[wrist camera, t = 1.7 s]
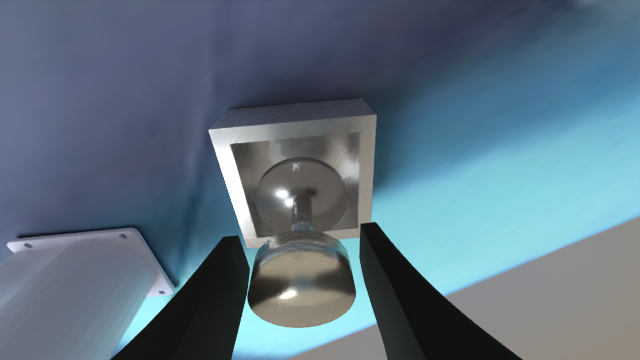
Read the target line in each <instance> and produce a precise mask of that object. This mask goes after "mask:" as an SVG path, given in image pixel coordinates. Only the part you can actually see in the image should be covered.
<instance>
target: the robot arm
mask: <svg viewBox="0 0 640 360" xmlns="http://www.w3.org/2000/svg"><path fill="white" fill-rule="evenodd" d="M7 246H8V247H9V248H10V249H11V250H12V251H13V252H14V254H13V255H11V256H10V257H9V258H7V259H6V260H5V261H3V262H2V263H1V264H0V360H109V359H110V358H111V356H112V354H113V353H114V351H115V349H116V347H117V346H118V344H119V342H120V341H121V339H122V337H123V335H124V334H125V332H126V330H127V329H128V327H129V325H130V324H131V322H132V320H133V318H134V317H135V315H136V313H137V312H138V310H139V308H140V307H141V305H142V303H143V301H144V300H145V298H146V297H154V296H164V295H171V294H173V293H174V291H175V288H174V286H173V284H172V283H171V281H170V280H169V278H168V276H167V275H166V273H165V272H164V270H163V269H162V267H161V265H160V264H159V262H158V261H157V259H156V258H155V256H154V254H153V253H152V251H151V250H150V248H149V247H148V245H147V243H146V242H145V240H144V239H143V237H142V236H141V234H140V232H139V231H138V230H137V229H135V228H122V229H111V230H101V231H91V232H80V233H70V234H60V235H49V236H39V237H28V238H18V239H12V240H11V241H9V242H8V243H7ZM359 258H360V263H361V268H362V273H363V278H364V282H365V286H366V289H367V292H368V295H369V298H370V302H371V305H372V308H373V311H374V314H375V317H376V321H377V324H378V327H379V330H380V333H381V336H382V340H383V343H384V347H385V350H386V354H387V358H388V360H522V359H521V358H520V357H518V356H517V355H516V354H514V353H513V352H512V351H510V350H509V349H508V348H506V347H505V346H504V345H502V344H501V343H500V342H499V341H497V340H496V339H495V338H493V337H492V336H491V335H489V334H488V333H487V332H485V331H484V330H483V329H482V328H480V327H479V326H478V325H477V324H475V323H474V322H473V321H472V320H471V319H469V318H468V317H467V316H466V315H464V314H463V313H462V312H461V311H460V310H459V309H457V308H456V307H455V306H454V305H453V304H452V303H451V302H449V301H448V300H447V299H446V298H445V297H444V296H443V295H442V294H441V293H440V292H438V291H437V290H436V289H435V288H434V287H433V286H432V285H431V284H430V283H429V282H428V281H427V280H426V279H425V278H424V277H423V276H422V275H421V274H420V273H419V272H418V271H417V270H416V269H415V268H414V267H413V266H412V264H411V263H410V262H409V261H408V260H407V259H406V258H405V257H404V256H403V255H402V254H401V252H400V251H399V250H398V249H397V248H396V247H395V245H394V244H393V243H392V242H391V241H390V239H389V238H388V237H387V236H386V234H385V233H384V232H383V231H382V229H381V228H380V227H379V225H378V224H377V223H376V222H371V223H361V224H360V255H359ZM249 273H250V268H249V265H248V262H247V259H246V256H245V253H244V250H243V247H242V244H241V241H240V238H239V236H228V237H223V238H222V239H221V240H220V242H219V243H218V244H217V245H216V247H215V248H214V249H213V250H212V252H211V253H210V254H209V255H208V257H207V258H206V259H205V260H204V261H203V263H202V264H201V265H200V266H199V268H198V269H197V270H196V271H195V272H194V274H193V275H192V276H191V277H190V278H189V280H188V281H187V282H186V283H185V284H184V286H183V287H182V288H181V289H180V290H179V291H178V292H177V293H176V295H175V296H174V297H173V298H172V299H171V300H170V301H169V302H168V303H167V305H166V306H165V307H164V308H163V309H162V310H161V311H160V312H159V313H158V314H157V315H156V316H155V317H154V318H153V320H152V321H151V322H150V323H149V324H148V325H147V326H146V327H145V328H144V329H143V330H142V331H141V332H140V333H139V334H138V335H137V336H135V337H134V338H133V339H132V340H131V341H130V342H129V343H128V344H127V345H126V346H125V347H124V348H123V349H122V350H121V351H120V352H119V353H117V354H116V355H115V356H114V357H113V358H112V359H111V360H231V358H232V353H233V349H234V345H235V341H236V337H237V333H238V329H239V325H240V321H241V317H242V313H243V308H244V304H245V300H246V296H247V289H248V282H249Z"/></svg>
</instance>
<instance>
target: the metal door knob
mask: <svg viewBox="0 0 640 360" xmlns="http://www.w3.org/2000/svg"><path fill="white" fill-rule="evenodd" d="M255 203H256V208H257V211H258V213H259V215H260V217H261V218H262V220H263V221H264V222H265V223H266V224H267V225H268V226H269V227H271V228H272V229H274V230H275V231H278V232H280V233H282V234H279V235H277V236H275V237H273V238H271V239H269V240H268V241H266V242H265V243H264V244H263V245H262V246H261V247H260V249H259V250H258V252H257V254H256V257H255V261H254V266H253V271H252V276H251V281H250V286H249V290H248V296H247V297H248V303H249V306H250V308H251V309H252V311H253V312H254V313H255V314H256V315H257V316H259V317H260V318H261V319H263V320H265V321H267V322H269V323H272V324H275V325H279V326H284V327H292V328H304V327H313V326H318V325H322V324H325V323H328V322H331V321H333V320H335V319H337V318H339V317H340V316H342V315H343V314H344V313H346V312H347V311H348V310H349V309H350V307H351V306H352V305H353V303H354V300H355V297H356V289H355V285H354V280H353V275H352V270H351V265H350V261H349V256H348V253H347V250H346V249H345V247H344V246H343V245H342V243H340V242H339V241H338V240H337V239H335V238H334V237H332V236H330V235H328V234H325V233H323V232H325V231H327V230H329V229H330V228H332V227H333V226H334V225H336V224H337V223H338V222H339V221H340V219H341V218H342V217H343V215H344V213H345V211H346V208H347V204H348V195H347V191H346V187H345V183H344V181H343V179H342V177H341V175H340V174H339V173H338V172H337V170H335V169H334V168H333V167H332V166H331V165H329V164H328V163H326V162H324V161H321V160H318V159H315V158H310V157H294V158H289V159H285V160H283V161H280V162H278V163H276V164H275V165H273V166H272V167H270V168H269V169H268V170H267V171H266V172H265V173H264V175H263V176H262V178H261V180H260V182H259V185H258V188H257V192H256V197H255Z"/></svg>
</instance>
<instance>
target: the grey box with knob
mask: <svg viewBox="0 0 640 360" xmlns="http://www.w3.org/2000/svg"><path fill="white" fill-rule="evenodd" d="M376 118H377V114H376V113H375V112H374V111H373V110H372V109H371V108H370V107H369V106H368V104H367V103H366V102H365V101H364V100H363V99H362V98H351V99H340V100H328V101H317V102H306V103H294V104H283V105H272V106H260V107H249V108H238V109H228V110H227V111H226V112H225V113H224V114H223V115H222V116H221V117H220V118H219V119H218V120H217V121H216V122H215V123H214V124H213V125H212V126H211V127H210V128H209V129H208V130H209V133H210V136H211V139H212V143H213V146H214V149H215V152H216V155H217V158H218V161H219V164H220V167H221V170H222V173H223V176H224V179H225V182H226V185H227V188H228V191H229V194H230V197H231V200H232V203H233V206H234V209H235V212H236V216H237V219H238V222H239V225H240V228H241V231H242V234H243V237H244V240H245V243H246V246H247V248H255V247H261V246H262V245H263V244H264V243H265V242H266V241H268V240H269V239H271V238H273V237H275V236H277V235H279V234H282V233H280V232H278V231H275V230H274V229H272V228H271V227H269V226H268V225H267V224H266V223H265V222H264V221H263V220H262V218H261V217H260V215H259V213H258V211H257V208H256V203H255V197H256V192H257V188H258V185H259V182H260V180H261V178H262V176H263V175H264V173H265V172H266V171H267V170H268V169H269V168H270V167H272V166H273V165H275V164H276V163H278V162H280V161H283V160H285V159H289V158H294V157H310V158H315V159H318V160H321V161H324V162H326V163H328V164H329V165H331V166H332V167H333V168H334V169H335V170H337V172H338V173H339V174H340V175H341V177H342V179H343V181H344V183H345V187H346V191H347V195H348V204H347V208H346V211H345V213H344V215H343V217H342V218H341V219H340V221H339V222H338V223H337V224H336V225H334V226H333V227H332V228H330V229H329V230H327V231H325V232H323V233H325V234H328V235H330V236H332V237H334V238H335V239H346V238H356V237H360V224H361V223H371V210H372V191H373V173H374V155H375V136H376Z"/></svg>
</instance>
